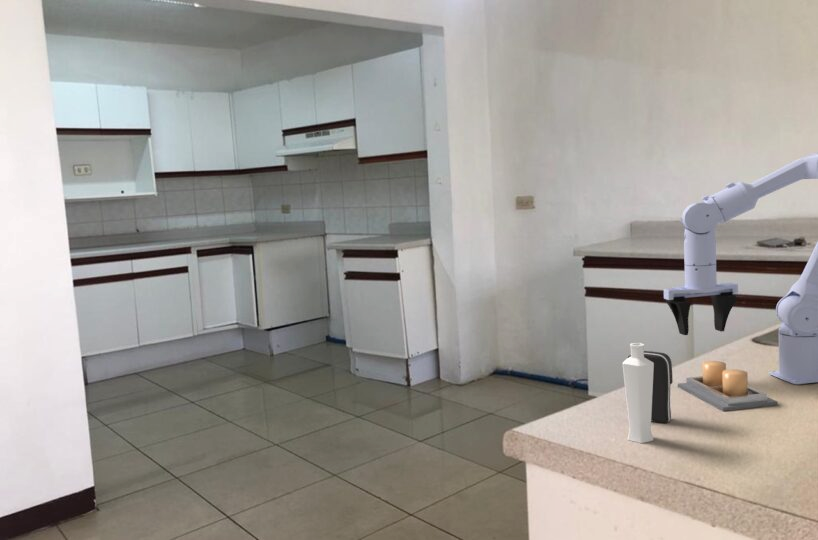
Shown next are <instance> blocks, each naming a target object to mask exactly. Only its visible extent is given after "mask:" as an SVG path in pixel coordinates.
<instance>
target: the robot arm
mask: <svg viewBox="0 0 818 540" xmlns="http://www.w3.org/2000/svg"><path fill="white" fill-rule="evenodd" d="M813 179H815V180H816V179H817V180H818V152H814V153H810V154H807V155H805V156H802V157H800V158H798V159H795V160H793V161H791V162H789V163H788V164H786V165H783V166H782V167H780V168H778V169H776V170H774V171H773V172H771V173H769V174H767V175H765V176H763V177H761V178H759V179H757V180H755V181H753V182H751V183H747V182H743V181H738V182H736V183H735V182H732V181H730V182H729V183H727V184H725V187H726V188H724V189H722V190H719V191H717V192H716V193H713V194H712V195H709V196H708V195H704V196H702V197H701V200H702V202H694V203H691V204H690V205H688V206H687V207H685V208H684V210H683V212H682V215H681V217H680V221H681V223H682V224H681V225H682V226H683V227H684V233H683V237H684V241H683V253H684V254H683V256H684V257H683V259H684V260H683V261H684V285H681V286H678V287H677V286H676V287H670V288H664V289H663V299H664V300H665V301H666V303H667V305H668V307H669V309H670V311H671V312H672V314H673V316H674V318H675V322H676V325H677V329H678V333H679V334H680V335H683V336H688V335H689V327H690V326H689V316H690V308H691V305H692V303H691V302H690V301H688V300H687V299H686V298H688V299H689V298H697V297H698V298H699V297H708V296H710V299H711V302H712V307H713V323H714V330H715V331H719V332H720V333H721V332H725V330H726V325H727V320H728V319H729V316H730V312H731V310H732V309H733V307H734V305H735V304H736V302H737V295H736V294H739V284H738V283H735V282H724V283H722V282H721V283H717V245H716V244H717V242H716V240H715V235H716V234H715V231H716V230H715V229H716V228H717V226H718V224H719V223H720V224H724V223H726V222H728V221H730V220H732V219H735V218H736V217H739V216H741V215H743V214H745V213H746V212H749V211H751V210H753V209H755V207H756V205H757V202H758V200H759V199H760V198H763V197H765V196H767V195H769V194H772V193H775V192H776V191H778V190H781V189H782V188H783V189H784V188H785V187H788V186H790V185H792V184H794V183H797V182H799V181H801V180H813ZM775 314H776V316H777V319H779V320H780V321H781V325H780V327H779V328H778V330H777V331H778V370H771V371H768V375H770V376H773V377H776V378H778V379H781V380H783V381H786V382H788V383H790V384H793V385H804V384H814V383H818V241H817V242H816V243H815V246H814V248H813V250H812V253H811V254H810V257H809V259H808V261H807V263H806V265H805V267H804V269H803V271H802V273H801V275H800V277H799V279H798V280H797V281H796V282H794V283H793V284H792V285H791V287H790V289H789V291H788V292H787V294H786V295H783V297H782V298H780V299H779V301H778V302H777V304H776V307H775Z"/></svg>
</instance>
